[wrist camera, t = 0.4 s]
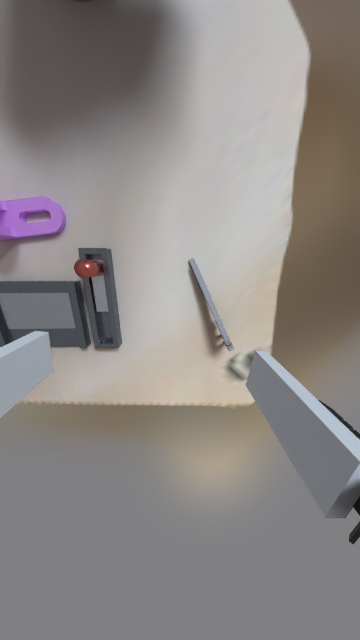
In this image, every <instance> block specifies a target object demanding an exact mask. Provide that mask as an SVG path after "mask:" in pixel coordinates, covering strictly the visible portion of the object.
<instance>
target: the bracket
mask: <svg viewBox="0 0 360 640" xmlns="http://www.w3.org/2000/svg"><path fill="white" fill-rule="evenodd" d="M48 211H49V213H50V215H51V219H50V220H49V221H46V222H37V223H29V224H27V223H26V221H25V215H26V214H31V213H39V212H48ZM65 225H66V216H65V213H64V211H63V209H62V208H61V207H60V206H59V205H58V204H57V203H56V202H54V201H52V200H50V199H48V198H46V197H34V198H26V199H17V200H9V201H0V240H9V239H18V238H26V237H35V236H43V235H52V234H58V233H60V232H61V231H63V229H64V228H65Z"/></svg>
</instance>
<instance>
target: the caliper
mask: <svg viewBox="0 0 360 640" xmlns="http://www.w3.org/2000/svg"><path fill="white" fill-rule="evenodd" d="M189 262H190V264H191V267H192V269H193V271H194V274H195V276H196V278H197V281H198V283H199V285H200V287H201V290H202V292H203V294H204V296H205V299H206V301H207V303H208V305H209V308H210V310H211V312H212V315H213V317H214V319H215V322H216V324H217V327H218V329H219V331H220V333H221V337H222V338H223V339H224V341H223V342H224V344H225V346H226V347H227V349H228V350H229V351H231V350H234V347H233V346H232V342H230V340H229V337H228V335H227V332H226V330H225V328H224V326H223V323H222V321H221V319H220V317H219V315H218V312H217V310H216V308H215V306H214V303H213V301H212V299H211V296H210V294H209V292H208V290H207V287H206V285H205V283H204V280H203V278H202V276H201V274H200V271H199V269H198V267H197V264H196V263H195V261H194V259H193V258H192V259H190V260H189Z"/></svg>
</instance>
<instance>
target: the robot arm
mask: <svg viewBox="0 0 360 640" xmlns="http://www.w3.org/2000/svg"><path fill="white" fill-rule="evenodd" d="M53 371H54V370H53V362H52V355H51V348H50V340H49V333H48V332H42V331H34V332H32V333H30V334H28V335H26V336H23V337H21V338H19V339H17V340H15V341H13V342H11V343H9V344H7V345H5V346H3V347H1V348H0V418H1V417H2V416H3V415H4V414H5V413H6V412H7V411H8V410H10V409H11V408H12V407H13V406H14V405H15V404H16V403H18V402H19V401H20V400H21V399H22V398H23V397H24V396H25V395H27V394H28V393H29V392H30V391H31V390H32V389H33V388H34V387H36V386H37V385H38V384H39V383H40V382H41V381H42V380H44V379H45V378H46V377H47V376H48V375H49V374H50V373H51V372H53ZM246 386H247V388H248V390H249V391H250V393H251V395H252V396H253V398H254V400H255V402H256V403H257V405H258V407H259V408H260V410H261V411H262V413H263V415H264V417H265V418H266V420H267V422H268V423H269V425H270V427H271V428H272V430H273V432H274V434H275V435H276V437H277V439H278V440H279V442H280V444H281V445H282V447H283V449H284V450H285V452H286V454H287V455H288V457H289V459H290V460H291V462H292V464H293V466H294V467H295V469H296V471H297V472H298V474H299V476H300V477H301V479H302V481H303V482H304V484H305V486H306V487H307V489H308V491H309V493H310V494H311V496H312V497H313V499H314V501H315V503H316V504H317V506H318V508H319V509H320V511H321V513H322V514H323V516H324V518H346V517H347V515H348V514H349V512H350V511H351V510H352V508H353V507H354V509H355V510H356V511H357V513H358V514H359V515H360V434H359V433H358V432H357V431H356V430H353V427H352V426H350V425H349V424H348V423H347V422H346V421H344V420H343V418H342V417H340V415H338V414H337V413H336V412H335V411H334V410H333V409H331V408H330V407H329V406H327V405H326V404H324V403H323V402H321V401H320V400H317V399H316V398H315V397H314V396H313V395H312V394H311V393H310V392H309V391H307V389H305V388H304V387H303V386H302V385H301V384H300V383H299V382H298V381H297V380H296V379H295V378H294V377H293V376H292V375H291V374H290V373H289V372H288V371H286V370H285V369H284V368H283V367H282V366H281V365H280V364H279V363H278V362H277V361H276V360H275V359H274V358H272V356H271V355H270V354H268V353H267V352H264V351H255V355H254V358H253V362H252V365H251V369H250V372H249V376H248V379H247V383H246ZM359 537H360V522H359V523H358V524H357V526H356V527H355V528H354V529H353V531H352V532H351V533H350V536H349V542H351V543H352V544H354V543H355V542H356V541H357V539H358V538H359Z"/></svg>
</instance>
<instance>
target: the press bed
mask: <svg viewBox="0 0 360 640" xmlns="http://www.w3.org/2000/svg"><path fill="white" fill-rule="evenodd" d="M34 331H42V332H48V333H49V340H50V346H81V348H87V347H88V346H89V345H90V344H91V340H90V334H89V328H88V323H87V317H86V312H85V306H84V301H83V295H82V290H81V284H80V281H0V348H1V347H3V346H5V345H7V344H9V343H11V342H13V341H15V340H17V339H19V338H21V337H23V336H26V335H28V334H30V333H32V332H34Z"/></svg>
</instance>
